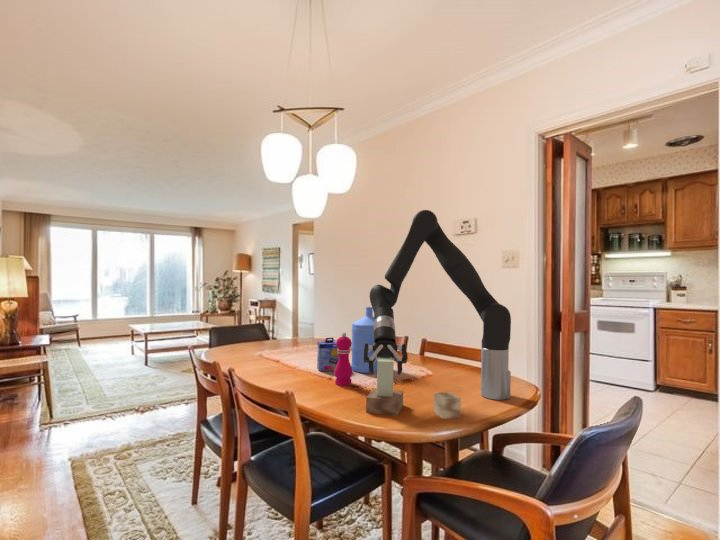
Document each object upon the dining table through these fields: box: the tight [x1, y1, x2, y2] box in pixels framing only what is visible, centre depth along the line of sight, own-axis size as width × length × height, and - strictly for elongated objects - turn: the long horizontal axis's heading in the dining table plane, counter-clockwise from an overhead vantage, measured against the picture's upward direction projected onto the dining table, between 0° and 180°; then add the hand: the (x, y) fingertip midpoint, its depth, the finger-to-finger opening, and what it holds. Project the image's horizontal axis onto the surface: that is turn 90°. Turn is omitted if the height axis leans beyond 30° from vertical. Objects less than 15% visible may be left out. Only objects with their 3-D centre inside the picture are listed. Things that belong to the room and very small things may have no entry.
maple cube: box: [433, 391, 462, 420], centre depth 119 cm, size 6×6×6 cm
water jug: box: [350, 306, 380, 374], centre depth 173 cm, size 16×16×28 cm
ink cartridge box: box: [316, 337, 339, 372], centre depth 172 cm, size 10×6×14 cm, turn 107°
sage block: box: [376, 358, 395, 397], centre depth 123 cm, size 5×5×11 cm
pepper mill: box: [333, 332, 354, 387], centre depth 150 cm, size 7×7×20 cm
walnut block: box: [365, 387, 404, 417], centre depth 123 cm, size 10×10×5 cm
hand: (385, 373), depth 122 cm, fingers open, 8 cm apart
